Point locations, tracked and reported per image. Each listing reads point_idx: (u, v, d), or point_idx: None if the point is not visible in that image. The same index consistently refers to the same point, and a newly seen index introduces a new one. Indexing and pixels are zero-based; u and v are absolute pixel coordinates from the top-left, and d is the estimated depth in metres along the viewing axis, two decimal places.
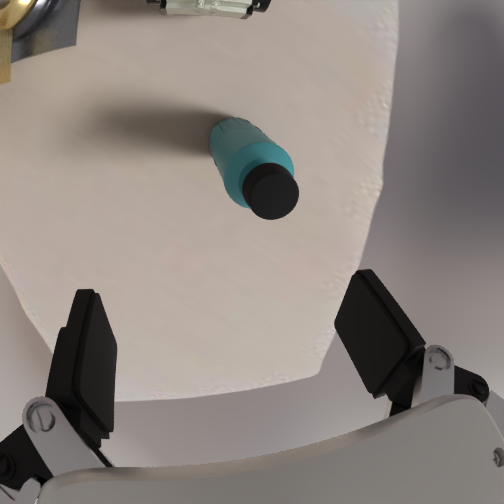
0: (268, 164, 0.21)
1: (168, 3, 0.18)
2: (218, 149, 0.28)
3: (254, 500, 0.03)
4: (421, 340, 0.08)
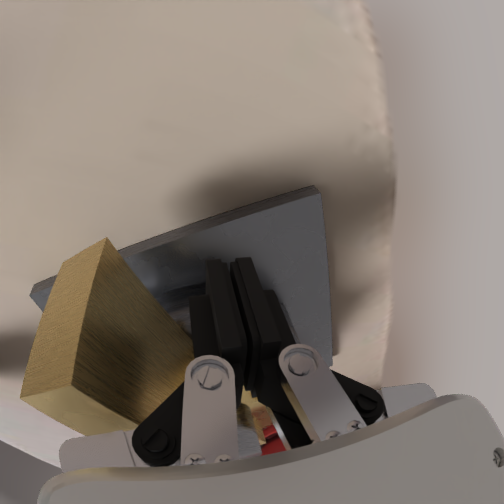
0: None
1: None
2: None
3: (254, 500, 0.03)
4: (276, 336, 0.07)
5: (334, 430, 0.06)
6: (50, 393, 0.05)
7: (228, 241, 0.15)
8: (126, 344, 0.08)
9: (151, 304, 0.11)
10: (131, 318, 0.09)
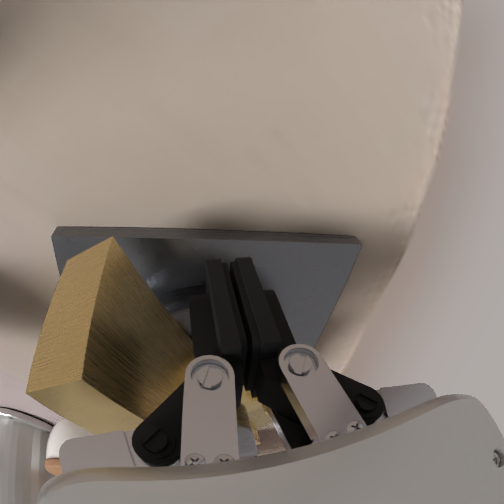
0: None
1: None
2: None
3: (254, 500, 0.03)
4: (276, 336, 0.07)
5: (334, 430, 0.06)
6: (58, 387, 0.05)
7: (282, 258, 0.17)
8: (132, 341, 0.08)
9: (153, 303, 0.11)
10: (135, 316, 0.09)
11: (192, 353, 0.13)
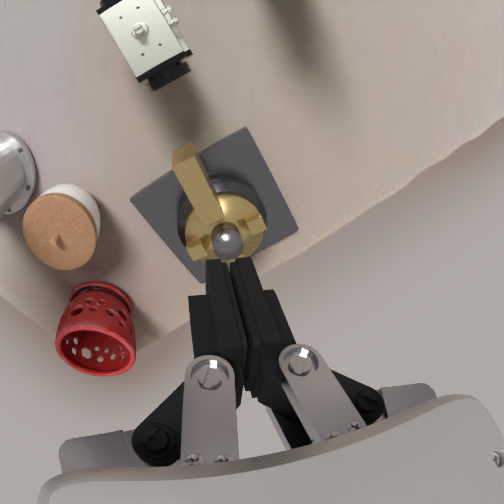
0: None
1: (183, 50, 0.21)
2: None
3: (254, 500, 0.03)
4: (277, 336, 0.07)
5: (334, 430, 0.06)
6: (185, 161, 0.26)
7: (279, 207, 0.42)
8: (200, 164, 0.29)
9: (203, 166, 0.33)
10: (200, 162, 0.30)
11: (216, 192, 0.34)
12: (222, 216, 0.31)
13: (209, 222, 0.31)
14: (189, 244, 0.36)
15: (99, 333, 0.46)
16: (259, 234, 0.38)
